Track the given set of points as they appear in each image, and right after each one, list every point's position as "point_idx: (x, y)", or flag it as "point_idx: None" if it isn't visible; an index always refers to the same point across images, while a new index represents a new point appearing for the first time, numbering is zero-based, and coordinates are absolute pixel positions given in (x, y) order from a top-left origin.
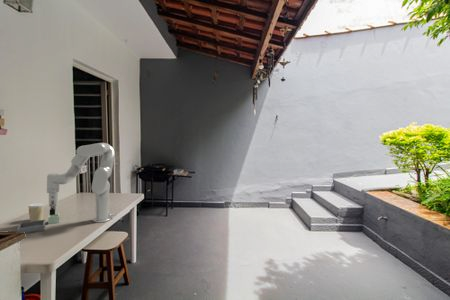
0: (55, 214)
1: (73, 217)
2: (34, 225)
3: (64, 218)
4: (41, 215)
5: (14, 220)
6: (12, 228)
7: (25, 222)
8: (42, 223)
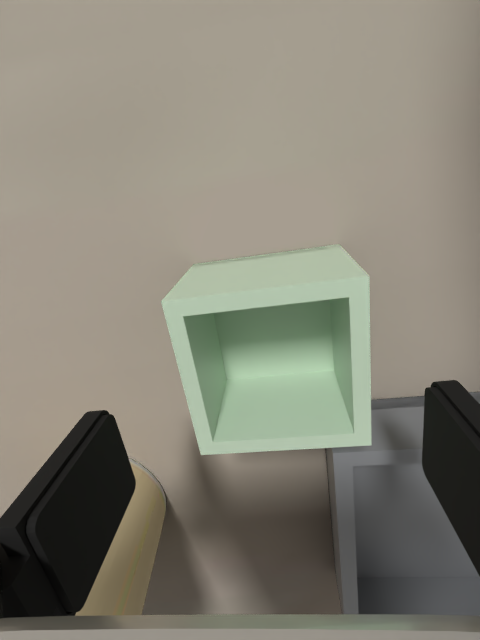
0: (193, 359)
1: (100, 20)
2: (364, 497)
3: (125, 195)
4: None
5: None
6: (315, 608)
7: (354, 606)
8: None
